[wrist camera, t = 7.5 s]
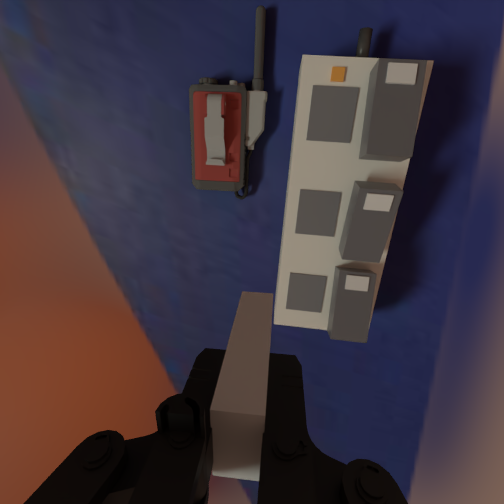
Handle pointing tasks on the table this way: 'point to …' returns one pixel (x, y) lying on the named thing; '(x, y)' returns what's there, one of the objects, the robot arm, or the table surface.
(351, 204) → the rocker
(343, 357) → the table surface
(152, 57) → the table surface
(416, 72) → the block
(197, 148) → the walkie-talkie
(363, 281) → the rocker
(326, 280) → the power strip
